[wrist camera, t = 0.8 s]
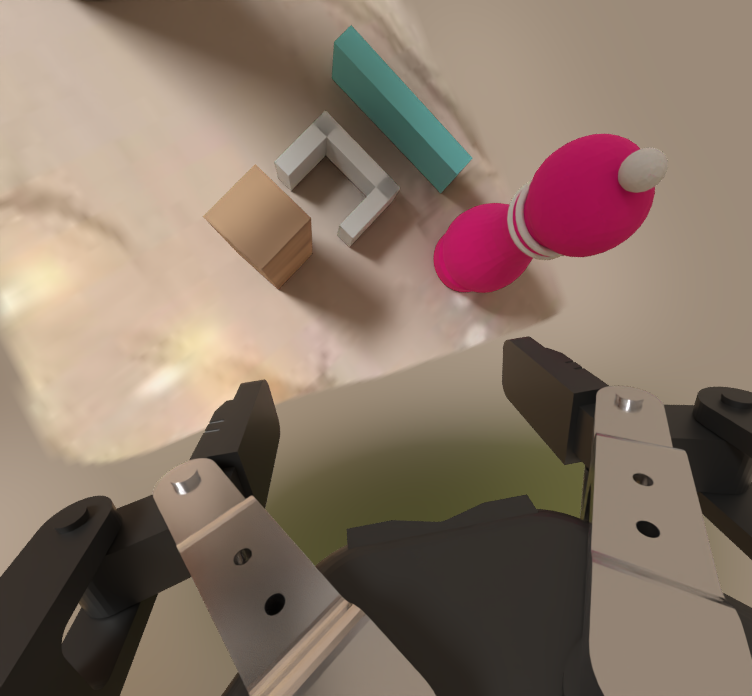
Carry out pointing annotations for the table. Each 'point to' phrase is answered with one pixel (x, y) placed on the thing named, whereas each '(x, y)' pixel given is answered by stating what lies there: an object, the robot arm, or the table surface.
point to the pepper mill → (554, 213)
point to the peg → (263, 226)
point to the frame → (351, 160)
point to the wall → (396, 110)
